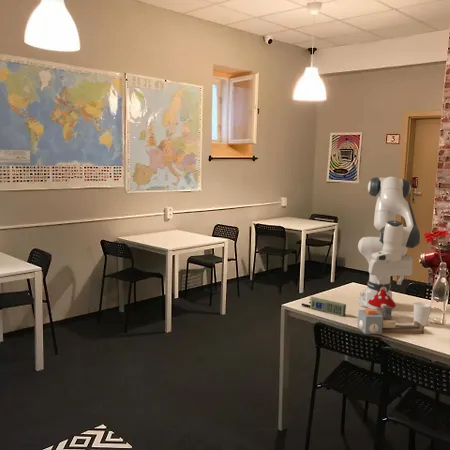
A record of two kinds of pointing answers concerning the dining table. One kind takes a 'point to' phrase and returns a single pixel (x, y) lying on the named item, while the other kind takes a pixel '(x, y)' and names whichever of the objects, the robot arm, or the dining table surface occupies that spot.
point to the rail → (405, 329)
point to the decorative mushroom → (381, 301)
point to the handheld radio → (327, 306)
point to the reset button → (370, 311)
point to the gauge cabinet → (370, 323)
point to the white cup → (421, 313)
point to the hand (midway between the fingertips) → (389, 284)
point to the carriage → (388, 318)
